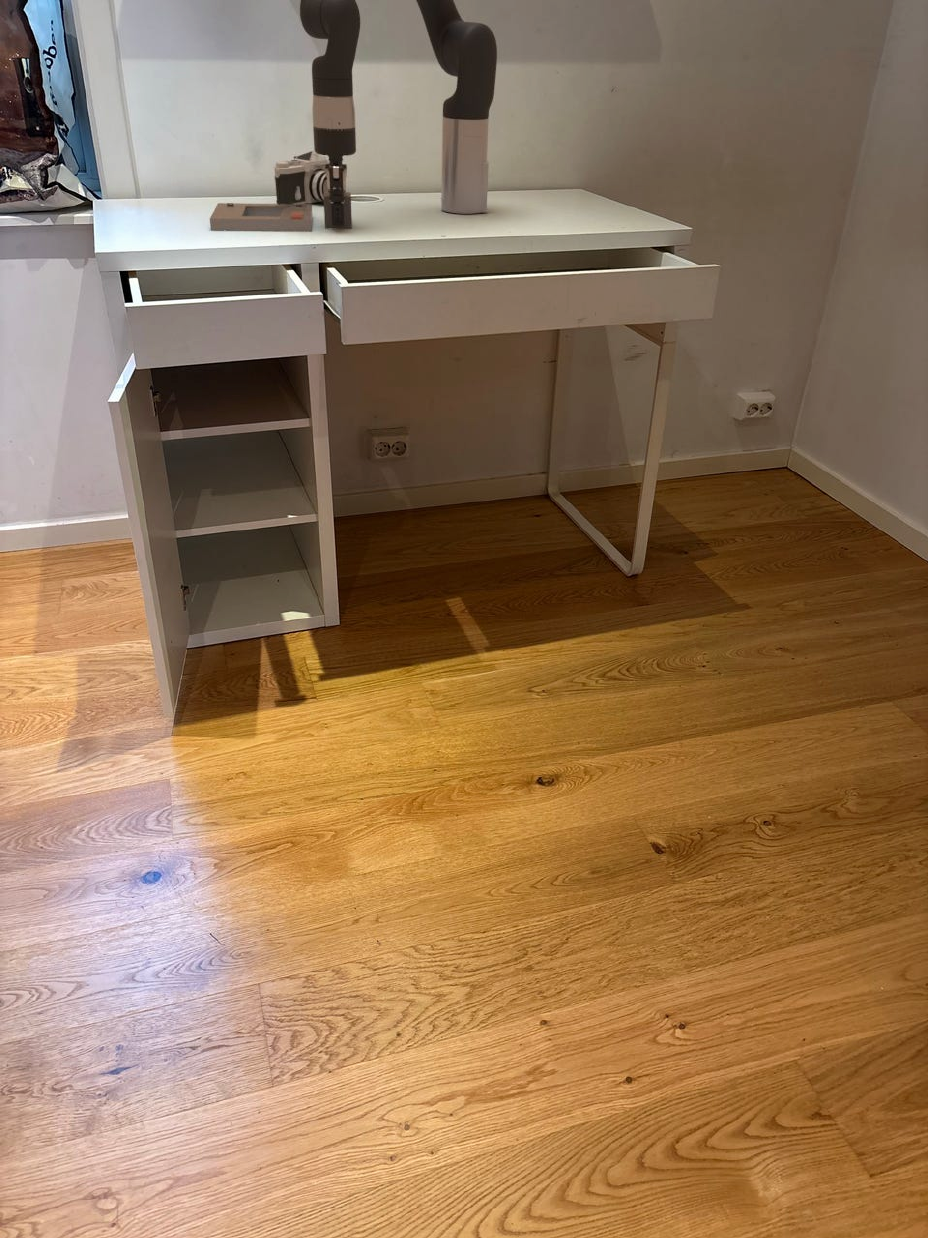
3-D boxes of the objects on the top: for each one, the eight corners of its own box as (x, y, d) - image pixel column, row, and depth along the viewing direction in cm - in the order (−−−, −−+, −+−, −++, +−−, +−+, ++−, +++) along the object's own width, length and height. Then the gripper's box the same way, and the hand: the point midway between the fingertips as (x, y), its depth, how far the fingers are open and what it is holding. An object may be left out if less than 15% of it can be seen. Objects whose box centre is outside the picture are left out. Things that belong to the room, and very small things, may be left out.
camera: (300, 211, 190) (296, 157, 185) (269, 205, 194) (265, 152, 189) (351, 201, 201) (349, 149, 196) (321, 196, 205) (318, 145, 200)
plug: (351, 226, 179) (350, 183, 175) (351, 231, 176) (350, 187, 172) (325, 225, 179) (323, 183, 175) (325, 230, 175) (323, 187, 171)
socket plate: (312, 217, 185) (311, 200, 183) (311, 234, 172) (310, 215, 170) (219, 216, 182) (217, 199, 181) (211, 233, 170) (209, 214, 168)
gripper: (356, 129, 162) (359, 229, 171) (354, 120, 174) (357, 214, 183) (312, 128, 161) (317, 228, 170) (313, 119, 173) (318, 213, 182)
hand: (338, 221), depth 177 cm, fingers open, 8 cm apart
